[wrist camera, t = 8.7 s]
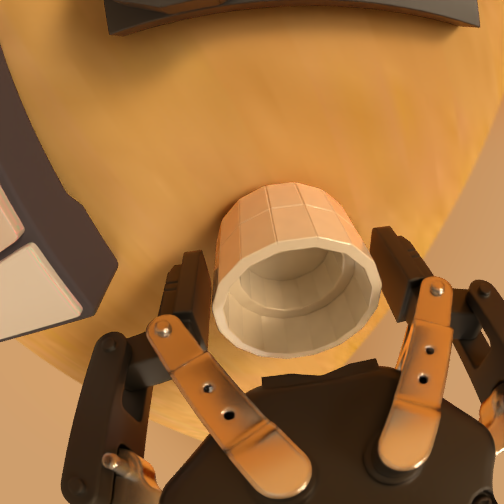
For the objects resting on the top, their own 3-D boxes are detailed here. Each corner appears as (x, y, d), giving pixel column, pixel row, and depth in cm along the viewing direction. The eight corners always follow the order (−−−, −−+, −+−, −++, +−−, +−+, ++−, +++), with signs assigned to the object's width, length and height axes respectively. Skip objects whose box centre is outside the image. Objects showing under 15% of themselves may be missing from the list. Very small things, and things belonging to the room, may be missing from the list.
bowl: (230, 293, 16) (230, 365, 12) (205, 188, 13) (193, 253, 9) (343, 277, 16) (368, 345, 12) (347, 170, 12) (392, 226, 9)
